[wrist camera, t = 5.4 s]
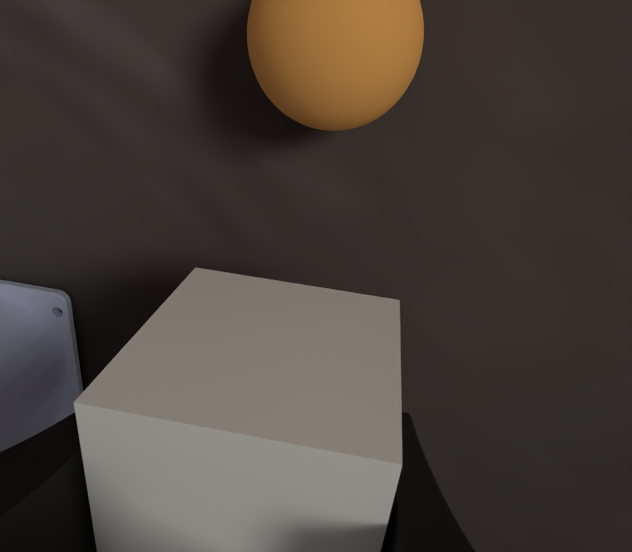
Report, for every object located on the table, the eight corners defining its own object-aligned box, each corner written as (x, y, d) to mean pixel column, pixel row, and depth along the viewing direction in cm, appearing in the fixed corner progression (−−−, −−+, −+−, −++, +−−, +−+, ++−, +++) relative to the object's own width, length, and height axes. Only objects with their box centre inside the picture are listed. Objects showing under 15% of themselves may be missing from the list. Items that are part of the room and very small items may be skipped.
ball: (403, 127, 17) (406, 157, 13) (265, 108, 17) (220, 131, 13) (435, -40, 15) (451, -77, 10) (274, -57, 15) (225, -99, 11)
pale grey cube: (367, 454, 16) (354, 655, 11) (197, 422, 17) (104, 598, 11) (399, 300, 14) (402, 465, 8) (195, 267, 14) (73, 402, 9)
